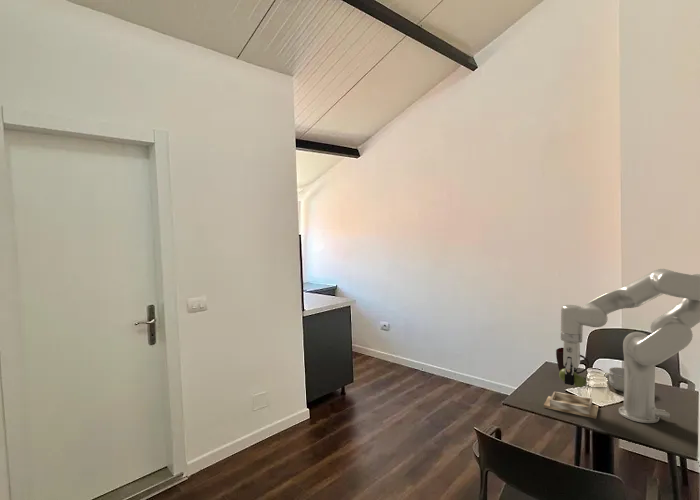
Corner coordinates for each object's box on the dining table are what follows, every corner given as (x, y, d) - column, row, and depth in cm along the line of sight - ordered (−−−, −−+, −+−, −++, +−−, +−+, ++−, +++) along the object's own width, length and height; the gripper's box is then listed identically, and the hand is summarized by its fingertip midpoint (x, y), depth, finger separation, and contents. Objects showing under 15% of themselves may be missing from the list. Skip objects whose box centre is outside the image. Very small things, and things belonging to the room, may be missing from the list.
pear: (564, 364, 168) (590, 376, 160) (562, 377, 169) (587, 388, 161) (557, 367, 165) (583, 379, 157) (555, 379, 166) (580, 392, 158)
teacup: (629, 384, 186) (629, 367, 186) (643, 394, 175) (644, 376, 175) (596, 384, 188) (596, 366, 187) (609, 394, 177) (609, 375, 176)
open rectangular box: (598, 408, 163) (598, 399, 163) (596, 418, 155) (596, 409, 155) (548, 398, 174) (548, 390, 174) (543, 407, 165) (543, 398, 165)
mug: (559, 370, 206) (559, 346, 205) (591, 376, 197) (591, 352, 196) (553, 376, 199) (553, 351, 198) (586, 383, 189) (586, 357, 189)
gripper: (579, 343, 154) (578, 391, 155) (584, 333, 168) (583, 376, 169) (557, 340, 158) (556, 386, 159) (564, 330, 172) (563, 373, 173)
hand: (570, 381), depth 164 cm, fingers closed on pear, 6 cm apart
